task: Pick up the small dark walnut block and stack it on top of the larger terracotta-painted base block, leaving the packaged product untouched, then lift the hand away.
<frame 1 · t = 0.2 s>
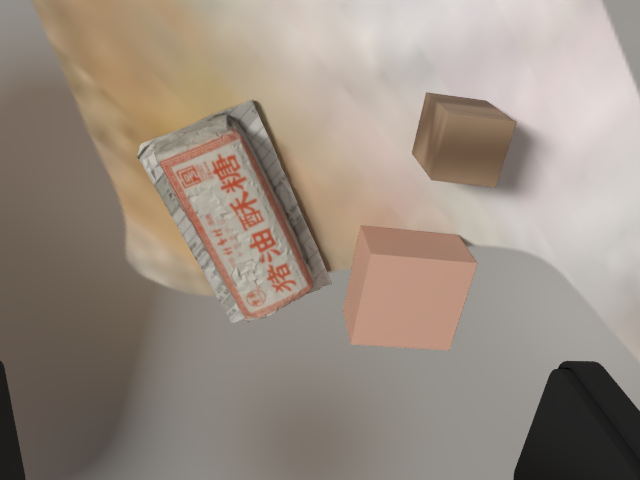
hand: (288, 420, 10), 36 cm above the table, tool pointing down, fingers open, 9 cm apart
packaged product: (241, 214, 48), on the table
base block: (399, 273, 52), on the table
walnut block: (448, 127, 46), on the table
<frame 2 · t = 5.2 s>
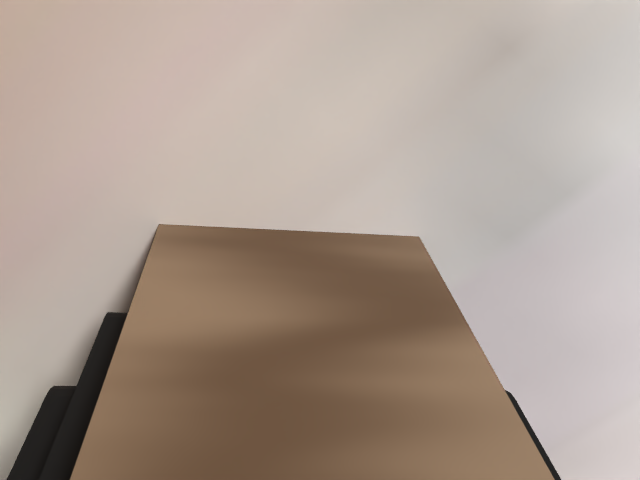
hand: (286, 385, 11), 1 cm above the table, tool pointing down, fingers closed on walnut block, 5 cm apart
walnut block: (283, 336, 12), on the table, touching gripper
when the fingers open (8 cm above the table, at t = 11.0 s): walnut block drops 1 cm, resting on base block.
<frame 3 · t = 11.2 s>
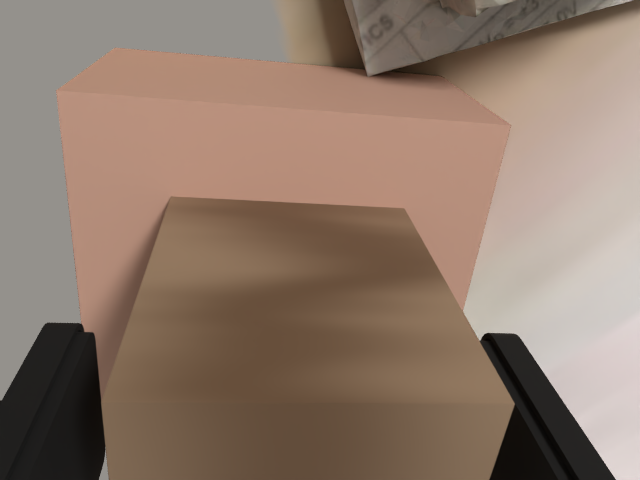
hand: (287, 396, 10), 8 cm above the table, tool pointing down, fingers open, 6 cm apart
base block: (274, 211, 18), on the table
walnut block: (282, 300, 13), point 5 cm above the table, touching base block
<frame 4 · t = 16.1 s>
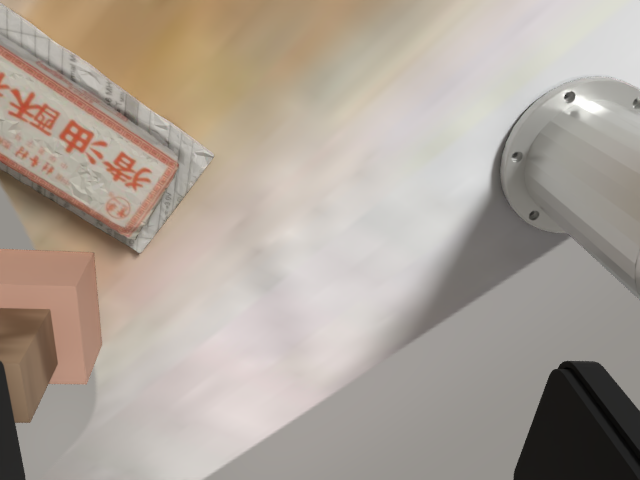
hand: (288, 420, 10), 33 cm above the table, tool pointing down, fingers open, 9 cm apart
packaged product: (73, 129, 41), on the table
base block: (40, 298, 46), on the table
walnut block: (18, 336, 42), point 5 cm above the table, touching base block
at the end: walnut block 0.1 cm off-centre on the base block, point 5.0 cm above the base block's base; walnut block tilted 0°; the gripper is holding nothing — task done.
